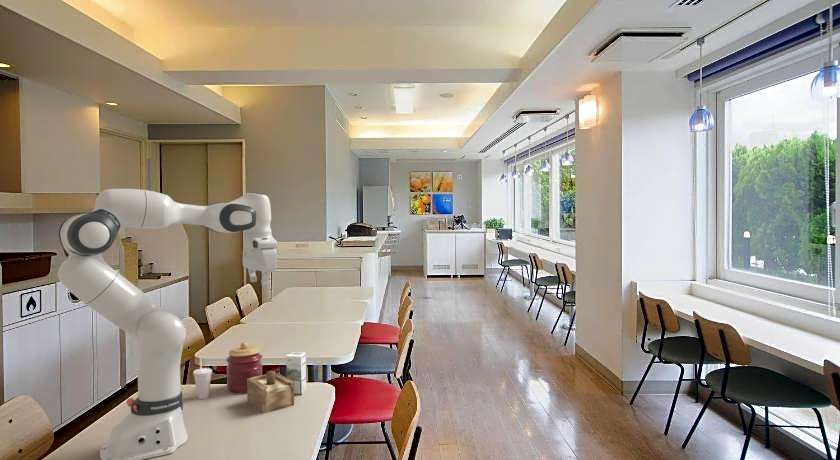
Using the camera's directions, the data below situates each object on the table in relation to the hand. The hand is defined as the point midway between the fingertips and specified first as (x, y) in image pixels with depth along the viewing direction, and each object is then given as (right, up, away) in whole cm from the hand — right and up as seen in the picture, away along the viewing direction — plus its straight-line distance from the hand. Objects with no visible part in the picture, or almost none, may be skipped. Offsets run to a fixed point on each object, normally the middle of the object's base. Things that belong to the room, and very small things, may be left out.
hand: (259, 283), depth 171 cm
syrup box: (+8, -43, +21) cm, 48 cm away
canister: (-13, -43, +26) cm, 52 cm away
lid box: (+1, -43, +10) cm, 44 cm away
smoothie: (-25, -43, +17) cm, 53 cm away
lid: (+1, -37, +9) cm, 38 cm away
